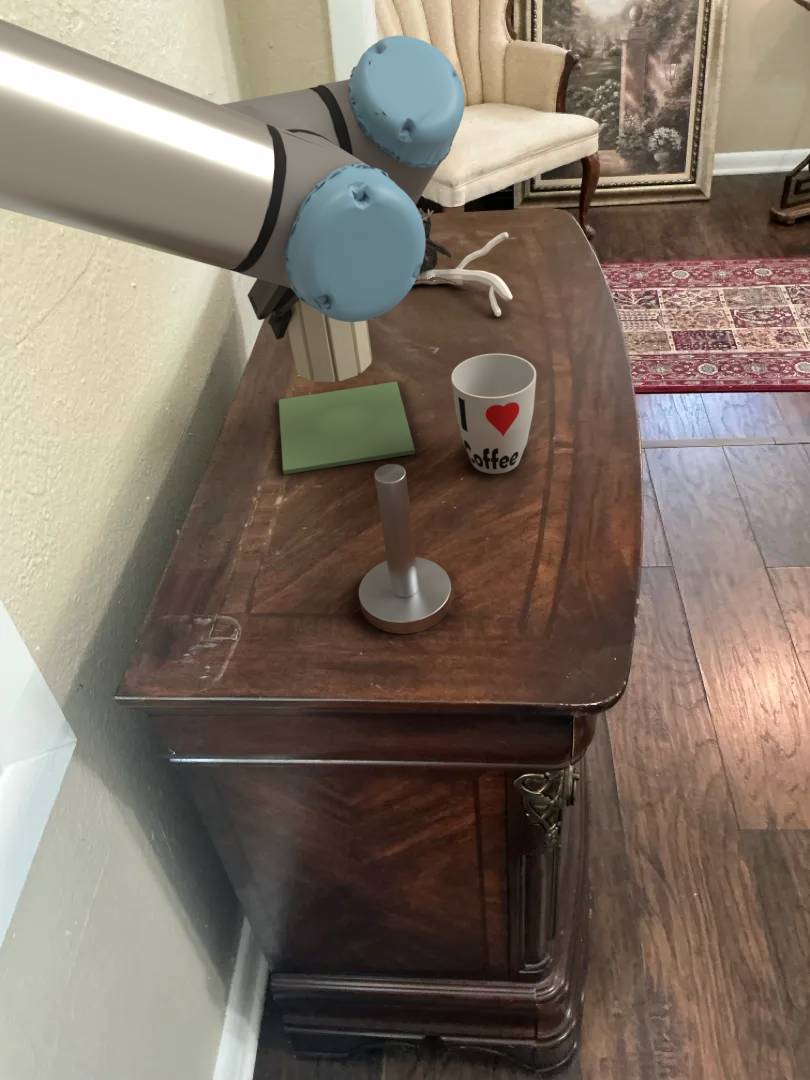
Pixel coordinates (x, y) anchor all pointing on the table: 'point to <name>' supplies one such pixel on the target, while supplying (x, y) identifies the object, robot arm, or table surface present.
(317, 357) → the cream slatted holder
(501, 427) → the cup
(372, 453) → the mat
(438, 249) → the owl
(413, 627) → the stand
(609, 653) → the table surface
